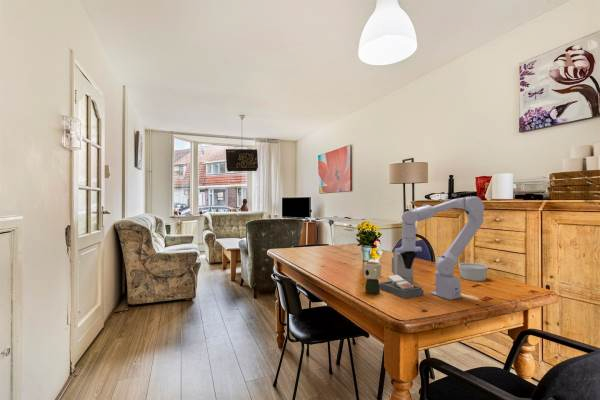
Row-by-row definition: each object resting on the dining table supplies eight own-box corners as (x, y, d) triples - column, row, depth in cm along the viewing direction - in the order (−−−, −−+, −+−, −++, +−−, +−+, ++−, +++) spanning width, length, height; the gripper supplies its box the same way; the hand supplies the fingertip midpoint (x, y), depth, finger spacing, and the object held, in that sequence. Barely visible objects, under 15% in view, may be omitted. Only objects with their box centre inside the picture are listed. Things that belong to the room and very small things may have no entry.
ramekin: (492, 282, 146) (492, 268, 146) (463, 281, 149) (463, 267, 149) (481, 276, 159) (481, 263, 160) (455, 275, 162) (455, 262, 162)
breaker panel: (423, 294, 128) (423, 287, 128) (405, 298, 123) (405, 291, 123) (395, 285, 142) (395, 278, 142) (378, 288, 137) (378, 281, 137)
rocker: (413, 288, 130) (413, 285, 129) (403, 290, 127) (403, 287, 127) (396, 277, 138) (397, 274, 138) (386, 278, 136) (387, 275, 135)
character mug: (361, 289, 136) (361, 260, 136) (376, 288, 136) (376, 260, 137) (367, 296, 125) (367, 266, 125) (384, 296, 126) (384, 265, 126)
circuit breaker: (405, 278, 155) (405, 249, 156) (413, 285, 141) (413, 254, 141) (391, 277, 156) (391, 249, 156) (397, 285, 142) (397, 254, 142)
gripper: (413, 236, 139) (412, 265, 139) (389, 237, 132) (389, 267, 132) (425, 238, 132) (425, 268, 132) (402, 239, 126) (401, 271, 126)
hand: (408, 268), depth 132 cm, fingers closed
